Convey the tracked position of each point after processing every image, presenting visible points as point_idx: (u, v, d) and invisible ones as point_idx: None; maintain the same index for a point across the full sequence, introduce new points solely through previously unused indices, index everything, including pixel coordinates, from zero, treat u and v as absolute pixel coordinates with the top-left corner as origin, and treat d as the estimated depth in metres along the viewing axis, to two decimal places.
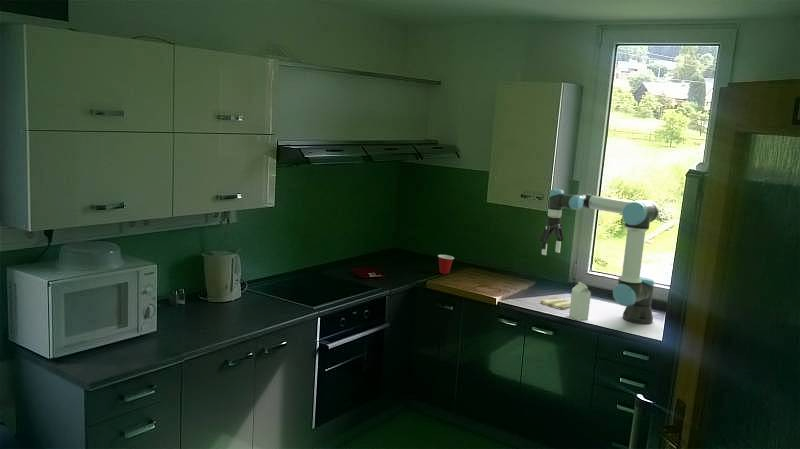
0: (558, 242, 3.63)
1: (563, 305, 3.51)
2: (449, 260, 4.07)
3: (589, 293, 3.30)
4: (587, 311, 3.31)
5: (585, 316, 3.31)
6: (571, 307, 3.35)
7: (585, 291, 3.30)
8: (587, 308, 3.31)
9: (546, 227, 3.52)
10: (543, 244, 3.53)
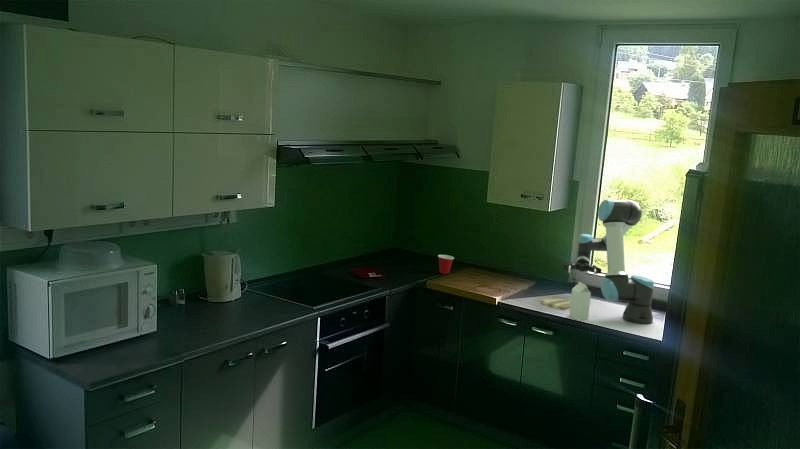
0: (594, 270, 3.49)
1: (563, 305, 3.51)
2: (449, 260, 4.07)
3: (589, 293, 3.30)
4: (587, 311, 3.31)
5: (585, 316, 3.31)
6: (571, 307, 3.35)
7: (585, 291, 3.30)
8: (587, 308, 3.31)
9: None
10: (566, 267, 3.54)
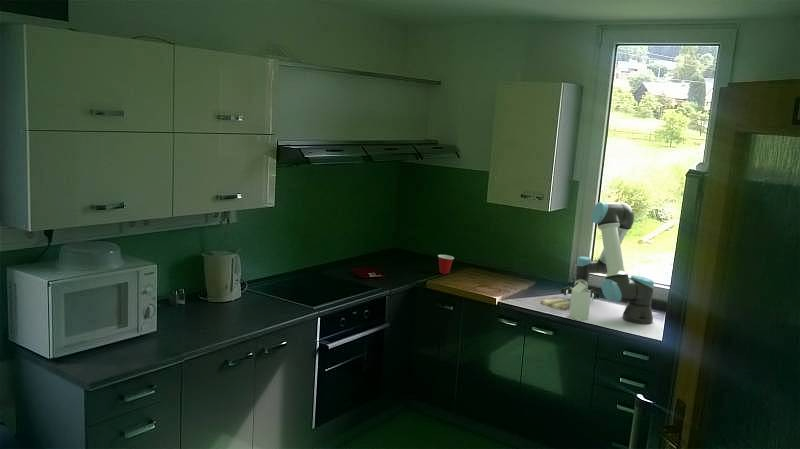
0: None
1: (563, 305, 3.51)
2: (449, 260, 4.07)
3: (589, 293, 3.30)
4: (587, 311, 3.31)
5: (585, 316, 3.31)
6: (571, 307, 3.35)
7: (585, 291, 3.30)
8: (587, 308, 3.31)
9: None
10: (564, 291, 3.46)
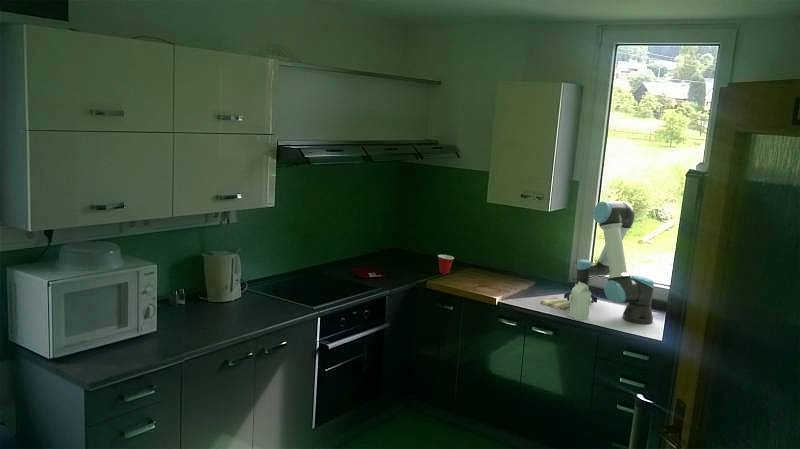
0: None
1: (563, 305, 3.51)
2: (449, 260, 4.07)
3: (589, 293, 3.30)
4: (587, 311, 3.31)
5: (585, 316, 3.31)
6: (571, 307, 3.35)
7: (585, 291, 3.30)
8: (587, 308, 3.31)
9: None
10: None
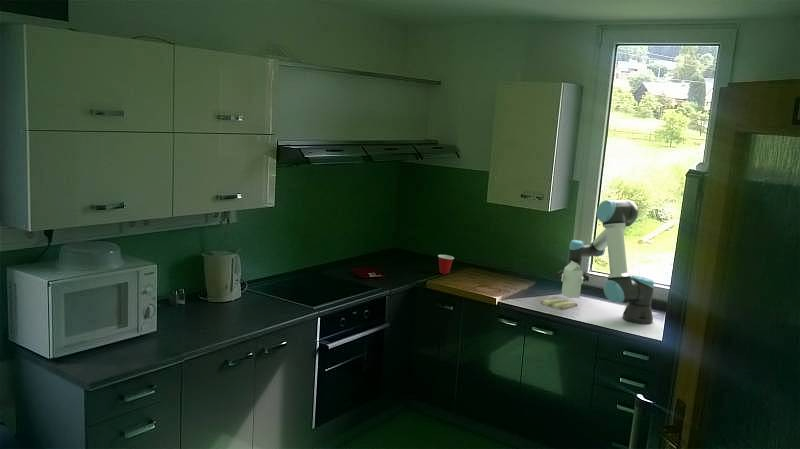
0: None
1: (563, 305, 3.51)
2: (449, 260, 4.07)
3: (581, 272, 3.38)
4: (579, 289, 3.39)
5: (577, 294, 3.40)
6: (563, 286, 3.43)
7: (577, 270, 3.38)
8: (579, 286, 3.39)
9: None
10: (559, 275, 3.44)
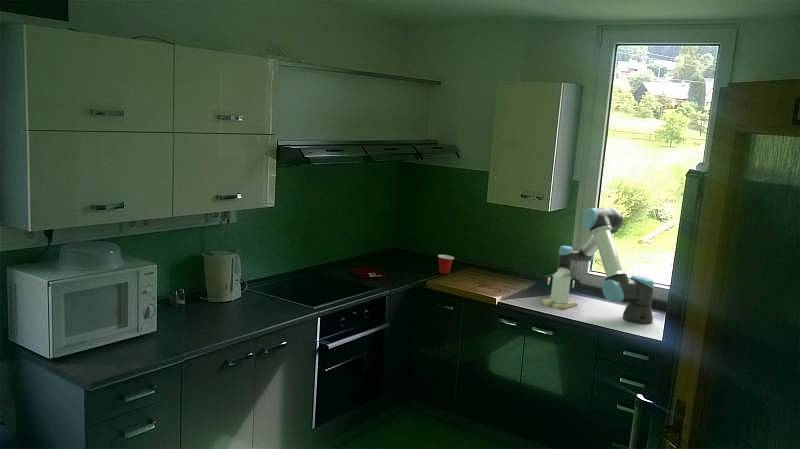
0: (573, 282, 3.55)
1: (563, 305, 3.51)
2: (449, 260, 4.07)
3: (569, 278, 3.52)
4: (567, 295, 3.54)
5: (565, 300, 3.54)
6: (552, 292, 3.57)
7: (565, 276, 3.52)
8: (567, 292, 3.53)
9: None
10: (546, 279, 3.60)
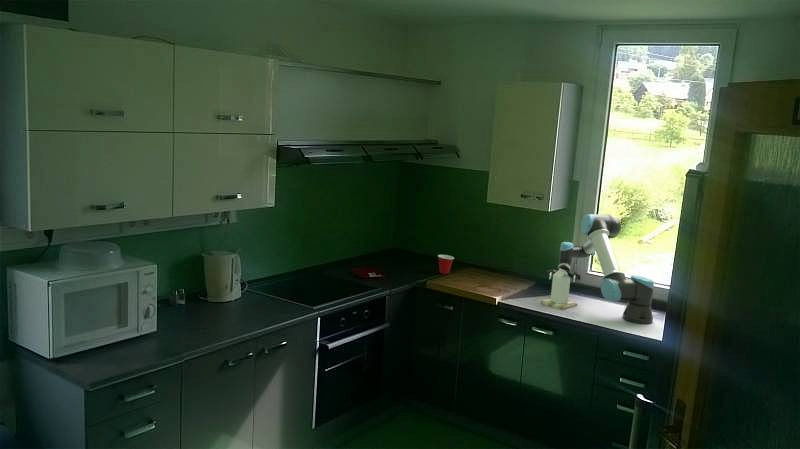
0: None
1: (563, 305, 3.51)
2: (449, 260, 4.07)
3: (569, 279, 3.52)
4: (567, 296, 3.54)
5: (565, 300, 3.54)
6: (552, 292, 3.57)
7: (565, 277, 3.52)
8: (567, 293, 3.53)
9: None
10: (548, 274, 3.72)
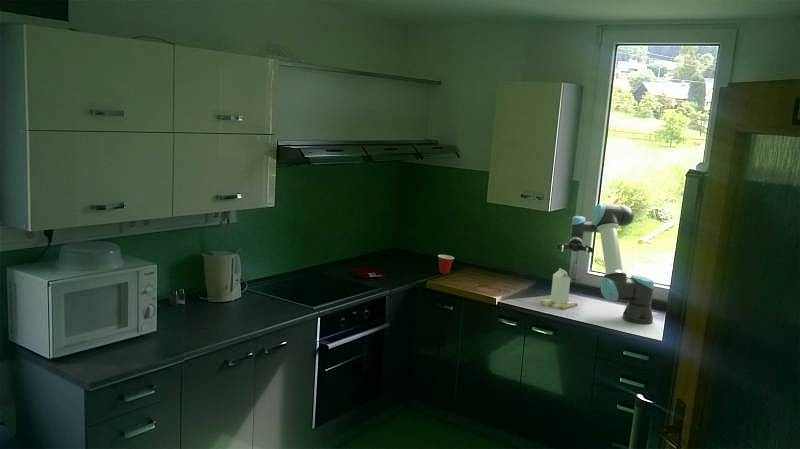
0: (586, 249, 3.64)
1: (563, 305, 3.51)
2: (449, 260, 4.07)
3: (569, 279, 3.52)
4: (567, 296, 3.54)
5: (565, 300, 3.54)
6: (552, 292, 3.57)
7: (565, 277, 3.52)
8: (567, 293, 3.53)
9: None
10: (560, 247, 3.68)
